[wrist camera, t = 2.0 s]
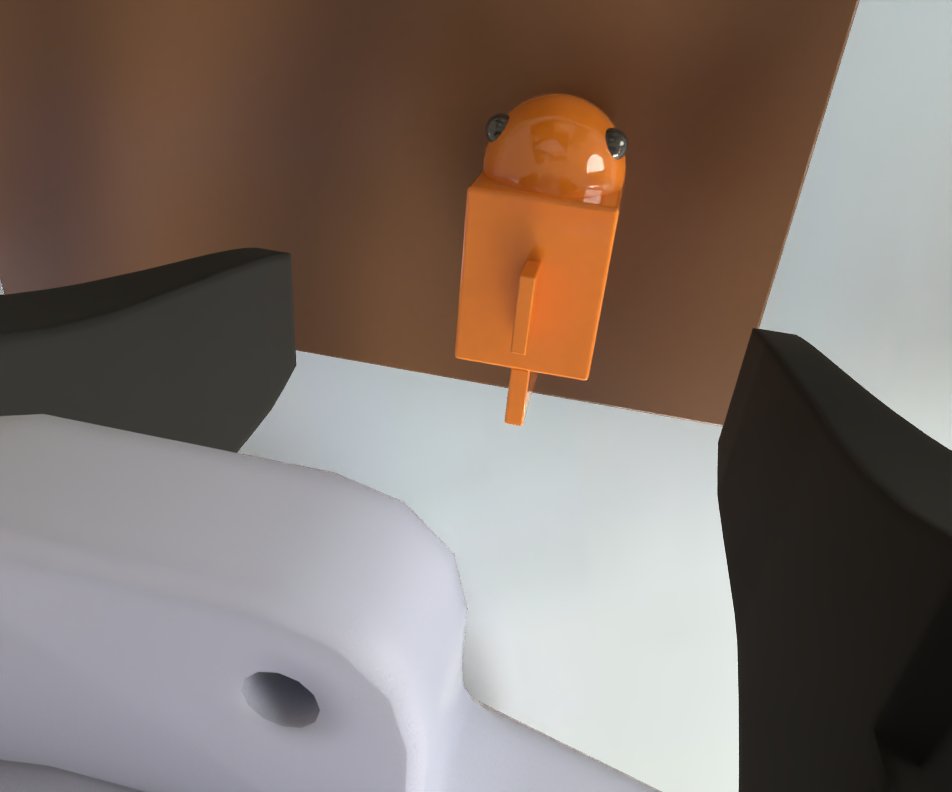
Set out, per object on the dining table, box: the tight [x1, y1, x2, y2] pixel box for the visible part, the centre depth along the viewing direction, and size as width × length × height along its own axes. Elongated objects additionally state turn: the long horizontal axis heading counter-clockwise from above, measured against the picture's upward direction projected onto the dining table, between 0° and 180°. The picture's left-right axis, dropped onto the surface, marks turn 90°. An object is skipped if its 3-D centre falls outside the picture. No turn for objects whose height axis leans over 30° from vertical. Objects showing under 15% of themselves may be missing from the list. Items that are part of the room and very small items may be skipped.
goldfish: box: [454, 93, 629, 426], centre depth 16 cm, size 6×3×4 cm, turn 175°
